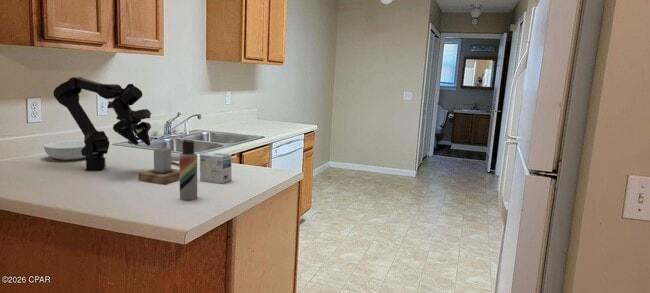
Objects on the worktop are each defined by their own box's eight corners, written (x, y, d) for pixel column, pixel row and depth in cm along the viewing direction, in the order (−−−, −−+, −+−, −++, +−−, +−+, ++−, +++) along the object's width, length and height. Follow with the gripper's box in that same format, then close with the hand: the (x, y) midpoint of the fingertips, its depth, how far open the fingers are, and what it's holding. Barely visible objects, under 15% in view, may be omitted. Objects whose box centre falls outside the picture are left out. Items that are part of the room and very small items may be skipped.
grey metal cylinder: (163, 151, 211) (193, 151, 195) (164, 165, 212) (195, 166, 196) (153, 152, 207) (183, 152, 191) (154, 166, 207) (184, 168, 192)
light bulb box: (232, 180, 176) (232, 154, 174) (222, 184, 170) (223, 156, 168) (209, 177, 179) (209, 151, 177) (199, 180, 173) (199, 153, 171)
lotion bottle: (182, 195, 151) (181, 138, 148) (198, 196, 152) (198, 138, 149) (177, 200, 146) (177, 140, 143) (195, 200, 146) (195, 141, 143)
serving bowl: (49, 155, 209) (48, 140, 208) (98, 153, 217) (98, 140, 216) (39, 163, 190) (38, 148, 189) (94, 162, 198) (93, 147, 197)
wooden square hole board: (138, 180, 169) (138, 173, 168) (161, 174, 180) (161, 167, 180) (164, 184, 165) (164, 176, 164) (186, 178, 176) (186, 170, 176)
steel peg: (154, 179, 171) (153, 149, 169) (162, 177, 175) (161, 147, 173) (163, 181, 170) (163, 150, 168) (171, 178, 174) (171, 149, 172)
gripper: (127, 97, 165) (148, 132, 164) (151, 103, 184) (170, 135, 183) (103, 113, 166) (124, 148, 165) (130, 118, 184) (149, 149, 183)
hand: (143, 144), depth 174 cm, fingers open, 9 cm apart
